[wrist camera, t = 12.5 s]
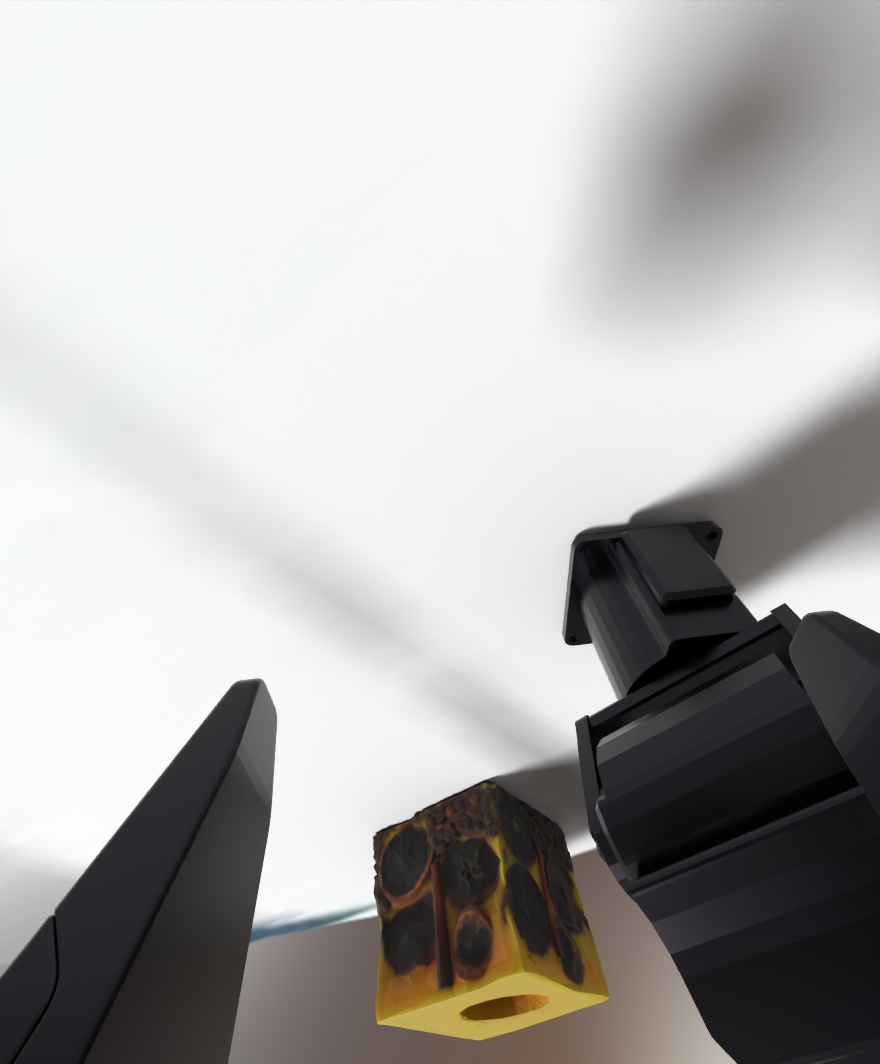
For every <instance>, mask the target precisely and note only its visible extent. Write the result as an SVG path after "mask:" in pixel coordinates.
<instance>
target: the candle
mask: <svg viewBox="0 0 880 1064" xmlns="http://www.w3.org/2000/svg"><path fill="white" fill-rule="evenodd" d="M373 840H374V842H373V845H374V846H373V849H374V856H373V858H374V859H375V861H376V864H375V865H374V869H375V871H376V873H377V875H376V876H375V877H374V879H375V885H374V896H375V899H376V904H377V912H378V918H379V924H380V930H381V955H380V959H379V963H378V967H377V968H378V990H377V998H376V1006H375V1008H376V1018H377V1023H378V1024H380V1025H390V1026H396V1027H402V1028H408V1029H414V1030H420V1031H426V1032H431V1033H437V1034H442V1035H448V1036H454V1037H460V1038H466V1039H473V1040H483V1039H486V1038H490V1037H493V1036H497V1035H501V1034H504V1033H508V1032H512V1031H515V1030H519V1029H522V1028H525V1027H528V1026H531V1025H533V1024H536V1023H539V1022H542V1021H546V1020H549V1019H552V1018H555V1017H558V1016H561V1015H564V1014H566V1013H570V1012H573V1011H575V1010H578V1009H582V1008H584V1007H588V1006H591V1005H594V1004H598V1003H601V1002H604V1001H606V1000H607V999H608V998H610V997H609V993H608V989H607V985H606V981H605V977H604V974H603V970H602V967H601V963H600V960H599V956H598V953H597V950H596V946H595V943H594V940H593V937H592V934H591V931H590V928H589V925H588V921H587V919H586V917H585V916H584V911H583V904H582V902H581V899H580V896H579V893H578V890H577V886H576V883H575V879H574V872H573V865H572V861H571V857H570V853H569V852H568V849H567V844H566V841H565V835H564V833H563V831H562V830H561V828H560V827H559V826H558V825H557V824H555V823H553V822H551V821H550V819H548V818H547V817H544V816H542V815H541V814H540V813H538V812H537V811H536V810H534V809H532V808H530V807H529V806H527V805H525V804H524V803H523V802H521V801H519V800H517V799H516V798H514V797H512V796H510V795H509V794H508V793H507V792H505V791H504V790H503V789H500V788H498V787H497V785H496V784H492V783H482V784H479V785H477V786H474V787H472V788H470V789H468V790H466V791H465V792H463V793H461V794H458V795H456V796H454V797H451V798H449V799H447V800H445V801H443V802H441V803H438V804H436V805H434V806H432V807H430V808H428V809H426V810H424V811H423V812H421V813H420V814H418V815H416V816H414V817H413V818H412V820H410V821H408V822H405V823H402V824H400V825H397V826H395V827H392V828H389V829H387V830H384V831H382V832H380V833H378V834H377V835H375V836H373Z"/></svg>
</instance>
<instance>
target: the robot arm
mask: <svg viewBox="0 0 880 1064" xmlns="http://www.w3.org/2000/svg"><path fill="white" fill-rule="evenodd" d="M709 532H711V533H709ZM722 532H723V531H722V529H721V528H720V527H719V526H718V525H717V524H716V523H715V522H711V521H708V522H699V523H690V524H681V525H672V526H663V527H654V528H645V529H636V530H627V531H618V532H609V533H600V534H591V535H583V536H579V537H578V538H576V539H575V540H574V541H573V542H572V545H571V554H570V564H569V574H568V583H567V593H566V603H565V613H564V622H563V632H562V635H563V638H564V641H565V643H566V644H568V645H582V644H590V643H593V645H594V647H595V649H596V651H597V654H598V656H599V658H600V660H601V663H602V665H603V667H604V670H605V672H606V674H607V676H608V679H609V681H610V683H611V686H612V688H613V690H614V692H615V695H616V697H617V699H618V701H616V702H614V703H613V704H611V705H609V706H607V707H606V708H604V709H602V710H600V711H598V712H597V713H595V714H593V715H591V716H590V717H589V716H588V715H586V716H585V717H583V718H581V719H579V720H578V721H576V722H575V726H576V733H577V740H578V743H577V744H578V751H579V758H580V766H581V773H582V780H583V787H584V794H585V801H586V808H587V815H588V822H589V829H590V833H591V835H592V838H593V839H594V841H595V843H596V845H597V850H598V852H599V854H600V856H601V858H602V859H603V860H604V861H605V862H606V863H607V864H608V866H609V868H610V870H611V871H612V873H613V875H614V876H615V878H616V879H617V881H618V882H619V884H620V885H621V886H622V888H623V889H624V890H625V892H626V893H627V894H628V895H629V896H630V897H631V898H632V899H633V900H634V901H635V902H636V903H637V904H638V906H639V907H640V908H641V910H642V911H643V912H644V914H645V915H646V916H647V918H648V919H649V920H650V922H651V923H652V925H653V927H654V928H655V930H656V931H657V933H658V935H659V936H660V938H661V940H662V941H663V943H664V945H665V946H666V948H667V950H668V951H669V953H670V955H671V957H672V959H673V960H674V962H675V964H676V966H677V968H678V970H679V972H680V974H681V976H682V978H683V980H684V982H685V984H686V986H687V988H688V990H689V992H690V994H691V996H692V998H693V1000H694V1002H695V1004H696V1006H697V1008H698V1010H699V1013H700V1015H701V1017H702V1019H703V1021H704V1023H705V1025H706V1027H707V1029H708V1031H709V1033H710V1034H711V1036H712V1037H713V1039H714V1040H715V1041H716V1042H717V1043H718V1044H719V1045H720V1046H721V1047H722V1048H723V1049H724V1050H725V1052H726V1053H727V1054H729V1056H730V1057H731V1058H732V1059H733V1060H734V1061H735V1062H736V1063H737V1064H880V633H878V632H876V631H874V630H872V629H870V628H868V627H866V626H864V625H862V624H860V623H858V622H856V621H854V620H852V619H850V618H848V617H846V616H844V615H842V614H840V613H838V612H835V611H821V612H813V613H808V614H807V615H805V616H804V617H803V619H802V620H801V619H800V618H799V617H798V616H797V615H796V614H795V613H794V612H793V611H792V610H791V609H790V608H789V607H788V606H787V605H786V604H785V603H784V604H782V605H781V606H779V607H777V608H775V609H774V610H772V611H770V612H771V613H772V614H770V615H769V616H767V617H765V618H763V619H762V620H760V621H757V620H756V618H755V617H754V616H753V615H752V614H751V612H750V611H749V610H748V609H747V607H746V606H745V605H744V604H743V602H742V601H741V600H740V599H739V598H738V596H737V595H736V594H735V592H736V587H735V586H734V585H733V583H732V582H731V581H730V580H729V579H728V577H727V576H726V575H725V574H724V573H723V571H722V570H721V569H720V568H719V566H718V565H717V564H716V563H715V562H714V560H715V557H716V553H717V550H718V547H719V544H720V541H721V537H722ZM708 533H709V534H708ZM707 534H708V535H707ZM586 545H587V547H586V548H585V549H581V548H582V547H583V546H586ZM573 635H574V636H573ZM276 731H277V713H276V709H275V706H274V704H273V701H272V699H271V696H270V694H269V692H268V689H267V687H266V684H265V683H264V681H263V680H262V679H258V678H256V679H248V680H240V681H237V682H235V683H234V684H233V685H232V686H231V687H230V689H229V690H228V691H227V692H226V694H225V695H224V696H223V697H222V699H221V700H220V701H219V702H218V704H217V705H216V706H215V708H214V709H213V710H212V711H211V713H210V714H209V715H208V716H207V718H206V719H205V720H204V721H203V723H202V724H201V725H200V726H199V728H198V729H197V730H196V732H195V733H194V734H193V735H192V737H191V738H190V739H189V740H188V742H187V743H186V744H185V745H184V747H183V748H182V749H181V750H180V752H179V753H178V754H177V756H176V757H175V758H174V759H173V761H172V762H171V763H170V764H169V766H168V767H167V768H166V769H165V771H164V772H163V773H162V774H161V776H160V777H159V778H158V779H157V781H156V782H155V783H154V785H153V786H152V787H151V788H150V790H149V791H148V792H147V793H146V795H145V796H144V797H143V798H142V800H141V801H140V802H139V803H138V805H137V806H136V807H135V809H134V810H133V811H132V812H131V814H130V815H129V816H128V817H127V819H126V820H125V821H124V822H123V824H122V825H121V826H120V827H119V829H118V830H117V831H116V833H115V834H114V835H113V836H112V838H111V839H110V840H109V841H108V843H107V844H106V845H105V846H104V848H103V849H102V850H101V851H100V853H99V854H98V855H97V856H96V858H95V859H94V860H93V862H92V863H91V864H90V865H89V867H88V868H87V869H86V870H85V872H84V873H83V874H82V875H81V877H80V878H79V879H78V880H77V882H76V883H75V884H74V886H73V887H72V888H71V889H70V891H69V892H68V893H67V894H66V896H65V897H64V898H63V899H62V901H61V902H60V903H59V904H58V906H57V907H56V908H55V912H54V914H55V915H51V916H49V917H48V918H47V919H46V921H45V922H44V923H43V924H42V926H41V927H40V928H39V929H38V931H37V932H36V933H35V934H34V936H33V937H32V938H31V939H30V941H29V942H28V943H27V945H26V946H25V947H24V948H23V950H22V951H21V952H20V953H19V954H18V956H17V957H16V958H15V959H14V961H13V962H12V963H11V964H10V965H9V967H8V968H7V969H6V970H5V971H4V973H3V974H2V975H1V976H0V1064H228V1060H229V1054H230V1049H231V1043H232V1037H233V1032H234V1026H235V1020H236V1014H237V1008H238V1003H239V997H240V992H241V986H242V980H243V974H244V968H245V963H246V957H247V951H248V946H249V940H250V934H251V929H252V923H253V917H254V912H255V906H256V900H257V894H258V889H259V883H260V877H261V872H262V866H263V860H264V854H265V849H266V843H267V837H268V831H269V825H270V818H271V807H272V793H273V778H274V762H275V747H276Z"/></svg>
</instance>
